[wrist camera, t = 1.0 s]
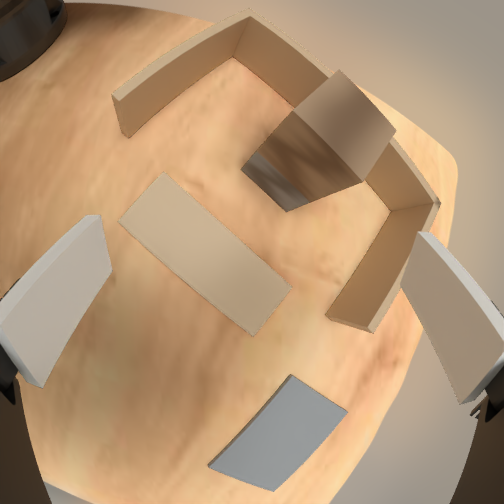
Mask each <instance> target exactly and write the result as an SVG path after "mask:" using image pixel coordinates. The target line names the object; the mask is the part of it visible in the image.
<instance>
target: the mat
mask: <svg viewBox="0 0 504 504" xmlns="http://www.w3.org/2000/svg"><path fill="white" fill-rule="evenodd" d="M347 413H348V412H347V411H346V410H344V409H343V408H341V407H339V406H338V405H336V404H335V403H333V402H332V401H330V400H328V399H327V398H325V397H324V396H322V395H321V394H319V393H318V392H316V391H315V390H313V389H312V388H310V387H309V386H307V385H306V384H304V383H303V382H301V381H300V380H298V379H297V378H295V377H294V376H293V375H291V374H290V375H289V376H288V378H287V379H286V380H285V381H284V383H283V384H282V385H281V386H280V387H279V389H278V390H277V391H276V392H275V393H274V395H273V396H272V397H271V398H270V399H269V400H268V402H267V403H266V404H265V405H264V406H263V407H262V408H261V410H260V411H259V412H258V413H257V414H256V415H255V416H254V417H253V419H252V420H251V421H250V422H249V423H248V424H247V425H246V426H245V427H244V428H243V429H242V430H241V432H240V433H239V434H238V435H237V436H236V437H235V438H234V439H233V440H232V441H231V442H230V443H229V444H228V445H227V446H226V447H225V448H224V449H223V450H222V451H221V452H220V453H219V454H218V455H217V456H216V457H215V458H214V459H213V460H212V461H211V462H210V463H209V464H208V467H209V468H211V469H213V470H215V471H218V472H220V473H223V474H225V475H228V476H230V477H233V478H235V479H238V480H240V481H243V482H246V483H249V484H252V485H254V486H257V487H260V488H263V489H266V490H270V491H273V492H274V491H275V490H276V489H277V488H278V487H279V486H280V485H282V484H283V483H284V482H285V481H286V480H287V479H288V478H289V477H290V476H291V475H292V474H293V473H294V472H295V471H296V470H297V469H298V468H299V467H300V466H301V465H302V464H303V463H304V462H305V461H306V460H307V459H308V458H309V457H310V456H311V455H312V454H313V452H314V451H315V450H316V449H317V448H318V447H319V446H320V445H321V444H322V443H323V441H324V440H325V439H326V438H327V437H328V436H329V435H330V433H331V432H332V431H333V430H334V429H335V428H336V426H337V425H338V424H339V423H340V422H341V420H342V419H343V418H344V417H345V415H346V414H347Z"/></svg>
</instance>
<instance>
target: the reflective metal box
mask: <svg viewBox="0 0 504 504" xmlns="http://www.w3.org/2000/svg"><path fill="white" fill-rule="evenodd" d="M395 132H396V129H395V128H394V127H393V126H392V125H391V123H390V122H389V121H388V120H387V119H386V118H385V116H384V115H383V114H382V113H381V112H380V111H379V110H378V108H377V107H376V106H375V105H374V104H373V103H372V102H371V101H370V100H369V99H368V98H367V97H366V96H365V95H364V93H363V92H362V91H361V90H360V89H359V88H358V87H357V86H356V85H355V84H354V83H353V82H352V81H351V80H350V79H349V78H347V76H346V75H344V74H343V73H342V72H341V71H340V70H338V71H337V72H336V73H334V74H333V75H332V76H331V77H330V78H329V79H327V80H326V81H325V82H324V83H323V84H322V85H320V86H319V87H318V88H317V89H316V90H315V91H314V92H313V93H311V94H310V95H309V96H308V97H307V98H306V99H305V100H304V101H302V102H301V103H300V104H299V105H298V106H297V107H296V108H295V109H294V110H293V111H292V112H291V113H290V114H289V115H288V116H287V117H286V118H285V119H284V120H283V122H282V123H281V124H280V125H279V126H278V127H277V128H276V129H275V130H274V132H273V133H272V134H271V135H270V136H269V137H268V138H267V139H266V141H265V142H264V143H263V144H262V145H261V146H260V147H259V149H258V150H257V151H256V152H255V153H254V154H253V156H252V157H251V158H250V159H249V160H248V161H247V163H246V164H245V165H244V166H243V167H242V168H241V170H242V171H243V172H244V173H245V174H246V175H247V176H248V177H249V178H250V179H252V180H253V181H254V182H255V183H256V184H257V185H258V186H259V187H260V188H261V189H262V190H263V191H264V192H266V193H267V194H268V195H269V196H270V197H271V198H272V199H273V200H274V201H275V202H276V203H277V204H278V205H279V206H280V207H281V208H282V209H284V210H285V211H286V212H288V211H290V210H293V209H295V208H298V207H300V206H303V205H305V204H308V203H310V202H313V201H315V200H318V199H320V198H323V197H325V196H328V195H330V194H333V193H336V192H338V191H341V190H343V189H346V188H348V187H351V186H354V185H356V184H359V183H362V182H363V181H364V179H365V178H366V176H367V175H368V174H369V172H370V171H371V169H372V168H373V166H374V165H375V163H376V161H377V160H378V158H379V157H380V155H381V154H382V152H383V151H384V149H385V148H386V146H387V145H388V143H389V142H390V140H391V138H392V137H393V135H394V134H395Z"/></svg>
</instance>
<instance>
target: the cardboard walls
mask: <svg viewBox="0 0 504 504" xmlns="http://www.w3.org/2000/svg"><path fill="white" fill-rule="evenodd" d="M232 56H233V57H234V58H236V59H237V60H238V61H239V62H241V63H242V64H243V65H245V66H246V67H247V68H248V69H250V70H251V71H252V72H253V73H255V74H256V75H257V76H258V77H260V78H261V79H262V80H263V81H265V82H266V83H267V84H268V85H269V86H270V87H272V88H273V89H274V90H275V91H276V92H278V93H279V94H280V95H281V96H282V97H283V98H284V99H285V100H287V101H288V102H289V103H290V104H291V105H292V106H293V107H294V108H296V107H297V106H298V105H299V104H300V103H301V102H302V101H304V100H305V99H306V98H307V97H308V96H309V95H310V94H311V93H313V92H314V91H315V90H316V89H317V88H318V87H319V86H320V85H322V84H323V83H324V82H325V81H326V80H327V79H329V78H330V77H331V76H332V75H333V73H332V72H331V71H330V70H329V69H328V68H327V67H326V66H325V65H323V64H322V63H321V62H320V61H319V60H318V59H316V58H315V57H314V56H313V55H312V54H311V53H309V52H308V51H307V50H306V49H305V48H304V47H302V46H301V45H300V44H299V43H297V42H296V41H295V40H293V39H292V38H291V37H289V36H288V35H287V34H286V33H284V32H283V31H282V30H280V29H279V28H278V27H276V26H275V25H274V24H272V23H271V22H269V21H268V20H266V19H265V18H264V17H262V16H261V15H259V14H258V13H256V12H255V11H253V10H252V9H250V8H248V9H246V10H243V11H241V12H239V13H237V14H235V15H233V16H231V17H228V18H227V19H224V20H222V21H221V22H219V23H217V24H215V25H213V26H211V27H209V28H207V29H205V30H204V31H202V32H200V33H198V34H197V35H195V36H193V37H191V38H190V39H188V40H186V41H185V42H183V43H181V44H180V45H178V46H177V47H175V48H173V49H172V50H170V51H169V52H167V53H166V54H164V55H163V56H161V57H160V58H158V59H157V60H155V61H154V62H153V63H151V64H150V65H148V66H147V67H146V68H144V69H143V70H141V71H140V72H139V73H137V74H136V75H135V76H133V77H132V78H131V79H130V80H128V81H127V82H126V83H124V84H123V85H122V86H121V87H120V88H118V89H117V90H116V91H115V92H113V93H112V94H111V95H112V99H113V103H114V106H115V110H116V114H117V117H118V121H119V124H120V128H121V131H122V133H123V134H124V135H125V136H126V137H128V138H130V137H131V136H132V135H133V134H134V133H135V132H136V131H137V130H138V129H139V128H140V127H141V126H143V125H144V124H145V123H146V122H147V121H148V120H149V119H150V118H152V117H153V116H154V115H155V114H156V113H157V112H159V111H160V110H161V109H162V108H163V107H164V106H166V105H167V104H168V103H169V102H171V101H172V100H173V99H174V98H176V97H177V96H178V95H179V94H181V93H182V92H183V91H184V90H186V89H187V88H188V87H190V86H191V85H192V84H194V83H195V82H196V81H198V80H199V79H200V78H202V77H203V76H205V75H206V74H207V73H209V72H210V71H212V70H213V69H214V68H216V67H217V66H219V65H220V64H222V63H223V62H225V61H226V60H228V59H229V58H231V57H232ZM365 181H366V182H367V183H368V184H369V185H370V186H371V187H372V189H373V190H374V191H375V192H376V193H377V195H378V196H379V197H380V198H381V199H382V201H383V202H384V203H385V204H386V206H387V207H388V208H389V209H390V211H391V213H390V215H389V217H388V218H387V220H386V222H385V223H384V225H383V227H382V229H381V230H380V232H379V234H378V235H377V237H376V239H375V240H374V242H373V243H372V245H371V247H370V248H369V250H368V252H367V253H366V255H365V256H364V258H363V260H362V261H361V263H360V264H359V266H358V267H357V269H356V270H355V272H354V273H353V275H352V277H351V278H350V280H349V281H348V283H347V284H346V286H345V287H344V288H343V290H342V291H341V293H340V294H339V296H338V297H337V299H336V300H335V302H334V303H333V304H332V306H331V307H330V309H329V310H328V312H327V313H326V314H325V315H326V316H327V317H328V318H329V319H330V320H332V321H335V322H338V323H341V324H344V325H348V326H351V327H354V328H357V329H360V330H363V331H367V332H370V333H373V334H374V332H375V330H376V329H377V327H378V326H379V324H380V323H381V321H382V319H383V318H384V316H385V314H386V313H387V311H388V309H389V308H390V306H391V304H392V303H393V301H394V299H395V297H396V296H397V294H398V292H399V290H400V289H401V286H400V282H401V280H402V277H403V274H404V271H405V268H406V266H407V263H408V260H409V257H410V254H411V251H412V248H413V244H414V241H415V238H416V235H417V231H420V232H429V231H430V229H431V226H432V224H433V222H434V219H435V217H436V215H437V212H438V210H439V208H440V205H441V202H440V200H439V199H438V197H437V196H436V194H435V193H434V191H433V190H432V188H431V187H430V185H429V184H428V182H427V181H426V179H425V178H424V177H423V175H422V174H421V172H420V171H419V170H418V168H417V167H416V166H415V164H414V163H413V162H412V160H411V159H410V158H409V156H408V155H407V154H406V152H405V151H404V150H403V149H402V147H401V146H400V145H399V143H398V142H397V141H396V140H395V139H394V137H392V138H391V140H390V142H389V143H388V145H387V146H386V148H385V149H384V151H383V152H382V154H381V155H380V157H379V158H378V160H377V161H376V163H375V165H374V166H373V168H372V169H371V171H370V172H369V174H368V175H367V176H366V178H365ZM118 222H119V223H120V224H121V225H122V226H123V227H124V228H125V229H126V230H127V231H128V232H129V233H130V234H131V235H132V236H134V237H135V238H136V239H137V240H138V241H139V242H140V243H141V244H142V245H143V246H145V247H146V248H147V249H148V250H149V251H150V252H151V253H152V254H153V255H155V256H156V257H157V258H158V259H159V260H160V261H161V262H162V263H164V264H165V265H166V266H167V267H168V268H169V269H170V270H172V271H173V272H174V273H175V274H176V275H177V276H179V277H180V278H181V279H182V280H183V281H184V282H186V283H187V284H188V285H189V286H190V287H192V288H193V289H194V290H195V291H196V292H198V293H199V294H200V295H201V296H202V297H204V298H205V299H206V300H207V301H208V302H210V303H211V304H212V305H213V306H215V307H216V308H217V309H218V310H220V311H221V312H222V313H223V314H225V315H226V316H227V317H228V318H230V319H231V320H232V321H233V322H235V323H236V324H237V325H238V326H240V327H241V328H242V329H244V330H245V331H246V332H247V333H249V334H250V335H251V336H253V337H254V336H255V335H256V333H257V332H258V331H259V330H260V328H261V327H262V326H263V325H264V323H265V322H266V321H267V319H268V318H269V317H270V316H271V314H272V313H273V312H274V311H275V309H276V308H277V307H278V305H279V304H280V303H281V302H282V300H283V299H284V298H285V296H286V295H287V294H288V292H289V291H290V290H291V289H292V286H291V285H290V284H289V283H288V282H286V281H285V280H284V279H283V278H282V277H281V276H280V275H279V274H278V273H276V272H275V271H274V270H273V269H272V268H271V267H270V266H269V265H268V264H266V263H265V262H264V261H263V260H262V259H261V258H260V257H259V256H258V255H256V254H255V253H254V252H253V251H252V250H251V249H250V248H249V247H248V246H246V245H245V244H244V243H243V242H242V241H241V240H240V239H239V238H237V237H236V236H235V235H234V234H233V233H232V232H231V231H230V230H229V229H227V228H226V227H225V226H224V225H223V224H222V223H221V222H220V221H219V220H217V219H216V218H215V217H214V216H213V215H212V214H211V213H210V212H208V211H207V210H206V209H205V208H204V207H203V206H202V205H201V204H200V203H198V202H197V201H196V200H195V199H194V198H193V197H192V196H191V195H189V194H188V193H187V192H186V191H185V190H184V189H183V188H182V187H181V186H179V185H178V184H177V183H176V182H175V181H174V180H173V179H172V178H171V177H169V176H168V175H167V174H166V173H165V172H163V173H162V174H161V175H160V176H159V177H158V178H157V179H156V180H155V181H154V182H153V183H152V184H151V185H150V186H149V187H148V188H147V189H146V190H145V191H144V192H143V194H142V195H141V196H140V197H139V198H138V199H137V200H136V201H135V202H134V203H133V205H132V206H131V207H130V208H129V209H128V210H127V211H126V212H125V214H124V215H123V216H122V217H121V218H120V219H119V221H118Z"/></svg>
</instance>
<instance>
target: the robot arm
mask: <svg viewBox="0 0 504 504" xmlns="http://www.w3.org/2000/svg"><path fill="white" fill-rule="evenodd" d="M66 19H67V12H66V8H65V4H64V1H63V0H0V81H2V80H5V79H7V78H9V77H11V76H12V75H14V74H16V73H17V72H19V71H20V70H22V69H23V68H25V67H26V66H28V65H29V64H30V63H32V62H33V61H34V60H35V59H36V58H38V57H39V56H40V55H41V54H42V53H43V52H44V51H45V50H46V49H47V48H48V47H49V46H50V45H51V44H52V43H53V42H54V41H55V39H56V38H57V37H58V35H59V34H60V32H61V31H62V29H63V27H64V25H65V23H66ZM112 271H113V270H112V266H111V262H110V258H109V253H108V249H107V244H106V239H105V235H104V230H103V224H102V219H101V215H86V216H85V217H83V218H82V219H81V220H80V221H79V222H78V223H77V224H75V225H74V226H73V227H72V228H71V229H70V230H69V231H68V232H67V233H66V234H64V235H63V236H62V237H61V238H60V239H59V240H58V241H57V242H56V243H55V244H54V245H53V246H52V247H51V248H50V249H49V250H48V251H47V252H46V253H45V254H44V255H43V256H42V257H41V258H40V259H39V260H38V261H37V262H36V263H35V264H34V265H33V266H32V267H31V268H30V269H29V270H28V271H27V272H26V273H25V274H24V275H23V276H22V277H21V278H20V279H18V280H17V281H16V282H15V284H14V285H13V286H12V287H11V288H10V291H7V293H6V294H5V295H4V298H1V300H0V504H52V503H51V500H50V498H49V495H48V493H47V490H46V488H45V485H44V482H43V480H42V477H41V474H40V471H39V468H38V465H37V462H36V458H35V455H34V452H33V448H32V445H31V441H30V437H29V433H28V429H27V424H26V420H25V415H24V410H23V405H22V399H21V393H20V386H19V382H18V380H17V379H16V377H15V376H16V374H17V372H18V371H19V372H20V374H21V375H22V376H23V378H24V379H25V380H26V382H28V383H30V384H33V385H35V386H38V387H40V388H43V387H44V385H45V383H46V381H47V379H48V377H49V375H50V373H51V371H52V369H53V367H54V365H55V364H56V362H57V360H58V358H59V356H60V354H61V353H62V351H63V349H64V347H65V346H66V344H67V342H68V340H69V339H70V337H71V335H72V333H73V332H74V330H75V328H76V327H77V325H78V323H79V322H80V320H81V319H82V317H83V315H84V314H85V312H86V311H87V309H88V307H89V306H90V304H91V303H92V301H93V300H94V298H95V296H96V295H97V293H98V292H99V290H100V289H101V287H102V286H103V284H104V283H105V281H106V280H107V278H108V277H109V276H110V274H111V273H112ZM400 286H401V288H402V290H403V291H404V293H405V295H406V297H407V298H408V300H409V302H410V304H411V305H412V307H413V309H414V311H415V313H416V314H417V316H418V318H419V320H420V322H421V324H422V326H423V327H424V329H425V331H426V333H427V335H428V337H429V339H430V340H431V343H432V345H433V347H434V348H435V351H436V353H437V355H438V357H439V359H440V361H441V363H442V366H443V368H444V370H445V372H446V374H447V376H448V379H449V381H450V383H451V386H452V388H453V390H454V392H455V395H456V397H457V400H458V402H459V405H461V404H464V403H467V402H470V401H473V400H475V399H476V398H477V397H478V396H479V395H480V394H481V392H482V391H483V390H484V389H485V390H486V392H487V396H486V397H485V398H484V399H483V400H482V401H481V402H480V403H479V404H478V405H477V406H476V407H475V408H474V409H473V410H472V412H471V414H470V416H473V415H474V414H475V413H476V412H477V411H478V410H480V413H479V414H478V415H477V416H476V417H475V418H477V419H478V423H477V427H476V430H475V434H474V438H473V442H472V445H471V448H470V452H469V455H468V458H467V461H466V464H465V467H464V470H463V472H462V475H461V478H460V480H459V483H458V485H457V488H456V490H455V493H454V495H453V497H452V499H451V502H450V504H504V317H503V315H502V314H501V313H500V312H499V310H498V308H497V307H496V306H495V304H494V303H493V302H492V301H491V300H490V299H489V298H488V297H487V295H486V294H485V293H484V292H483V290H482V289H481V288H480V287H479V285H478V284H477V283H476V282H475V280H474V279H473V278H472V277H471V276H470V275H469V273H468V272H467V271H466V270H465V269H464V268H463V266H462V265H461V264H460V263H459V262H458V261H457V260H456V259H455V257H454V256H453V255H452V254H451V253H450V252H449V251H448V250H447V249H446V248H445V247H444V245H443V244H442V243H441V242H440V241H439V240H438V239H437V238H436V237H435V236H434V235H433V234H432V233H429V232H420V231H417V235H416V238H415V241H414V244H413V248H412V251H411V254H410V257H409V260H408V263H407V266H406V268H405V271H404V274H403V277H402V280H401V282H400Z"/></svg>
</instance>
